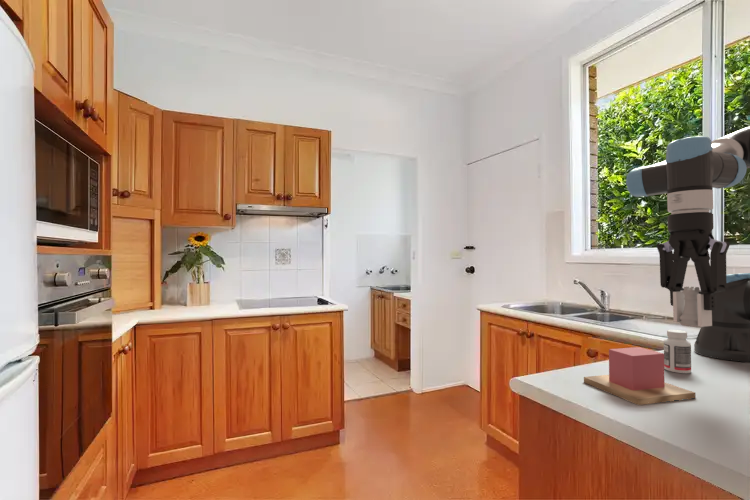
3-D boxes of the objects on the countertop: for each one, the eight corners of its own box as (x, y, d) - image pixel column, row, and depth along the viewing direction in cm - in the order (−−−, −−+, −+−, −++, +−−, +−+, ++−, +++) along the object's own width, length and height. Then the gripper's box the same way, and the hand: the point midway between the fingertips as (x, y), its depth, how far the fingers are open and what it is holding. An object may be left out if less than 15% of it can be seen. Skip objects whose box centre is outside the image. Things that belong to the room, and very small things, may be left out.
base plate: (634, 377, 93) (634, 372, 93) (695, 398, 79) (695, 392, 79) (583, 382, 90) (583, 376, 90) (638, 405, 76) (638, 398, 76)
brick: (639, 378, 88) (638, 347, 88) (664, 387, 83) (664, 353, 83) (609, 381, 87) (608, 349, 87) (632, 390, 81) (632, 356, 81)
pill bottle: (694, 371, 98) (694, 331, 98) (687, 375, 95) (686, 334, 95) (668, 366, 102) (668, 328, 102) (660, 370, 99) (660, 330, 99)
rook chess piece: (711, 327, 81) (710, 288, 81) (686, 327, 81) (685, 288, 82) (698, 323, 85) (697, 286, 85) (674, 323, 86) (673, 286, 86)
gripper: (638, 216, 91) (640, 318, 91) (720, 207, 74) (723, 333, 74) (664, 216, 93) (667, 316, 93) (751, 208, 76) (754, 330, 76)
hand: (692, 323), depth 83 cm, fingers closed on rook chess piece, 4 cm apart
